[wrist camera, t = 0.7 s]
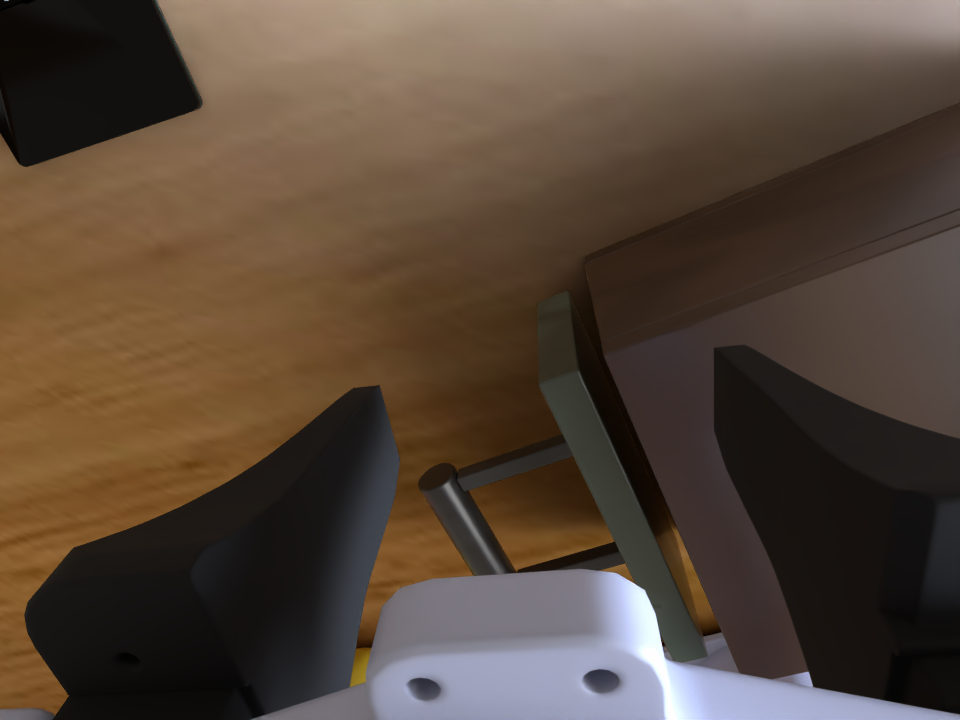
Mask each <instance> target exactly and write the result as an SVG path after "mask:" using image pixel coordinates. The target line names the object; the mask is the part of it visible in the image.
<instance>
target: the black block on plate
mask: <svg viewBox="0 0 960 720" xmlns="http://www.w3.org/2000/svg"><path fill="white" fill-rule="evenodd" d="M201 107H202V98H201V96H200V94H199V92H198V90H197V87H196V85H195V83H194V81H193V79H192V76H191V74H190V72H189V70H188V68H187V66H186V63H185V61H184V59H183V57H182V55H181V52H180V50H179V48H178V46H177V44H176V41H175V39H174V37H173V35H172V33H171V30H170V28H169V26H168V24H167V22H166V20H165V17H164V15H163V13H162V11H161V9H160V6H159V4H158V2H157V0H0V133H1V135H2V137H3V138H4V140H5V142H6V143H7V145H8V147H9V148H10V150H11V152H12V153H13V155H14V157H15V158H16V160H17V161H18V163H19V164H20V165H22V166H24V167H28V166H32V165H35V164H38V163H41V162H44V161H47V160H50V159H53V158H56V157H59V156H62V155H65V154H68V153H71V152H74V151H77V150H80V149H83V148H85V147H88V146H91V145H94V144H97V143H100V142H103V141H106V140H109V139H112V138H115V137H118V136H121V135H124V134H127V133H130V132H133V131H136V130H139V129H142V128H145V127H148V126H151V125H154V124H157V123H160V122H163V121H166V120H169V119H172V118H175V117H177V116H180V115H183V114H186V113H189V112H192V111H195V110H198V109H200V108H201Z"/></svg>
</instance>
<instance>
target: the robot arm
mask: <svg viewBox="0 0 960 720" xmlns="http://www.w3.org/2000/svg"><path fill="white" fill-rule="evenodd" d="M714 432H715V435H716V439H717V442H718V445H719V449H720V452H721V455H722V458H723V461H724V464H725V467H726V470H727V472H728V474H729V476H730V478H731V480H732V482H733V484H734V487H735V489H736V491H737V493H738V495H739V497H740V499H741V501H742V503H743V505H744V507H745V509H746V511H747V513H748V515H749V517H750V519H751V522H752V524H753V526H754V528H755V530H756V532H757V534H758V536H759V538H760V540H761V542H762V544H763V546H764V548H765V550H766V552H767V555H768V557H769V559H770V562H771V564H772V566H773V569H774V571H775V574H776V577H777V579H778V582H779V585H780V588H781V591H782V594H783V596H784V599H785V602H786V605H787V608H788V611H789V613H790V617H791V620H792V623H793V626H794V629H795V632H796V635H797V638H798V641H799V644H800V647H801V650H802V653H803V656H804V659H805V662H806V665H807V668H808V672H804V673H800V674H795V675H791V676H786V677H781V678H777V679H767V678H762V677H756V676H751V675H746V674H740V673H739V671H738V669H737V667H736V664H735V662H734V660H733V657H732V655H731V653H730V650H729V648H728V646H727V643H726V641H725V639H724V636H723V634H722V632H721V633H717V634H712V635H708V636H704V637H703V638H704V641H705V645H706V649H707V652H708V657H706V658H702V659H697V660H693V661H689V662H684V663H681V662H676V661H673V660H672V658H671V656H670V654H669V652H668V650H667V648H666V646H664V647H663V648H662V643H661V638H660V633H659V628H658V624H657V619H656V614H655V612H654V610H653V607H652V605H651V603H650V601H649V599H648V597H647V594H646V592H645V590H643V589H642V588H640V587H639V586H637V585H635V584H634V583H632V582H630V581H629V580H627V579H625V578H624V577H622V576H620V575H619V574H617V573H611V572H603V571H595V570H587V569H570V570H556V571H541V572H527V573H512V574H497V575H483V576H468V577H454V578H439V579H430V580H426V581H423V582H419V583H416V584H412V585H409V586H405V587H402V588H400V589H399V590H398V591H397V592H396V593H395V594H394V595H393V596H392V597H391V598H390V599H389V600H388V601H387V602H386V603H385V604H384V605H383V606H382V609H381V613H380V617H379V621H378V625H377V629H376V633H375V637H374V641H373V645H372V649H371V653H370V657H369V661H368V665H367V669H366V682H365V683H362V684H359V685H356V686H353V687H350V682H351V676H352V670H353V663H354V657H355V651H356V644H357V638H358V633H359V627H360V622H361V616H362V611H363V606H364V600H365V596H366V592H367V588H368V584H369V580H370V577H371V573H372V570H373V567H374V564H375V560H376V557H377V554H378V551H379V547H380V544H381V541H382V538H383V534H384V531H385V528H386V525H387V521H388V518H389V515H390V511H391V508H392V504H393V501H394V497H395V491H396V485H397V478H398V471H399V463H400V458H399V454H398V451H397V447H396V443H395V440H394V436H393V432H392V429H391V425H390V422H389V418H388V414H387V411H386V407H385V403H384V400H383V396H382V392H381V389H380V385H377V386H368V387H359V388H353V389H351V390H350V391H348V392H347V393H346V394H344V395H343V396H342V397H340V398H339V399H338V400H337V401H335V402H334V403H333V404H332V405H331V406H329V407H328V408H327V409H326V410H325V411H324V412H322V413H321V414H320V415H319V416H318V417H316V418H315V419H314V420H313V421H312V422H310V423H309V424H308V425H307V426H306V427H304V428H303V429H302V430H301V431H299V432H298V433H297V434H296V435H294V436H293V437H292V438H290V439H289V440H288V441H286V442H285V443H284V444H283V445H281V446H280V447H279V448H277V449H276V450H275V451H273V452H272V453H271V454H269V455H268V456H267V457H265V458H264V459H262V460H261V461H260V462H258V463H257V464H255V465H254V466H252V467H251V468H249V469H248V470H246V471H244V472H243V473H241V474H240V475H238V476H236V477H235V478H233V479H232V480H230V481H228V482H226V483H225V484H223V485H221V486H219V487H217V488H215V489H214V490H212V491H210V492H208V493H206V494H204V495H202V496H200V497H198V498H197V499H195V500H193V501H191V502H189V503H187V504H185V505H183V506H181V507H179V508H176V509H174V510H172V511H170V512H168V513H166V514H163V515H161V516H159V517H156V518H154V519H151V520H149V521H147V522H144V523H142V524H139V525H137V526H134V527H132V528H129V529H127V530H124V531H121V532H118V533H115V534H112V535H109V536H107V537H104V538H101V539H98V540H95V541H92V542H89V543H86V544H83V545H80V546H77V547H74V548H73V549H72V550H71V551H70V552H69V553H68V555H67V556H66V557H65V558H64V559H63V561H62V562H61V563H60V564H59V565H58V567H57V568H56V569H55V570H54V571H53V573H52V574H51V575H50V576H49V577H48V578H47V580H46V581H45V582H44V583H43V584H42V586H41V587H40V588H39V589H38V590H37V592H36V593H35V594H34V595H33V596H32V598H31V599H30V600H29V601H28V603H27V607H26V611H25V615H24V616H25V622H26V629H27V632H28V635H29V637H30V639H31V641H32V642H33V644H34V646H35V648H36V650H37V651H38V652H39V654H40V655H41V657H42V658H43V660H44V661H45V662H46V664H47V665H48V667H49V668H50V669H51V671H52V672H53V674H54V675H55V677H56V678H57V679H58V681H59V682H60V684H61V685H62V687H63V688H64V689H65V691H66V692H67V694H68V695H69V697H68V698H67V700H66V701H65V703H64V704H63V706H62V707H61V708H60V710H59V711H58V713H57V714H56V715H54V714H53V713H51V712H49V711H47V710H44V709H39V708H16V709H0V720H960V439H959V438H955V437H952V436H948V435H945V434H941V433H938V432H934V431H931V430H927V429H924V428H921V427H917V426H914V425H911V424H908V423H905V422H902V421H899V420H896V419H894V418H891V417H888V416H886V415H883V414H881V413H878V412H875V411H873V410H870V409H867V408H865V407H863V406H860V405H858V404H856V403H853V402H851V401H849V400H847V399H845V398H843V397H841V396H839V395H836V394H834V393H832V392H830V391H828V390H826V389H824V388H822V387H820V386H818V385H816V384H814V383H812V382H811V381H809V380H807V379H805V378H803V377H801V376H800V375H798V374H796V373H794V372H793V371H791V370H789V369H787V368H786V367H784V366H782V365H780V364H779V363H777V362H775V361H774V360H772V359H770V358H769V357H767V356H765V355H763V354H762V353H760V352H758V351H756V350H755V349H753V348H751V347H749V346H747V345H745V344H743V345H734V346H725V347H716V348H714Z"/></svg>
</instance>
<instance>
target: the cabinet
mask: <svg viewBox="0 0 960 720" xmlns="http://www.w3.org/2000/svg"><path fill="white" fill-rule="evenodd" d="M583 260H584V265H585V270H586V275H587V279H588V284H589V289H590V294H591V298H592V303H593V308H594V313H595V317H596V322H597V327H598V332H599V336H600V341H601V347H602V352H603V356H604V359H605V361H606V363H607V366H608V368H609V370H610V373H611V375H612V377H613V380H614V382H615V384H616V387H617V389H618V391H619V394H620V396H621V398H622V401H623V403H624V405H625V408H626V410H627V412H628V415H629V417H630V419H631V422H632V424H633V426H634V429H635V431H636V433H637V436H638V438H639V440H640V443H641V445H642V447H643V450H644V452H645V454H646V457H647V459H648V461H649V464H650V466H651V468H652V471H653V473H654V475H655V478H656V480H657V482H658V485H659V487H660V489H661V492H662V494H663V496H664V499H665V501H666V503H667V506H668V508H669V510H670V513H671V515H672V517H673V520H674V522H675V524H676V527H677V529H678V531H679V534H680V536H681V538H682V541H683V543H684V545H685V548H686V550H687V552H688V555H689V557H690V559H691V562H692V564H693V566H694V569H695V571H696V573H697V576H698V578H699V580H700V583H701V585H702V587H703V590H704V592H705V594H706V597H707V599H708V601H709V604H710V606H711V608H712V611H713V613H714V615H715V618H716V620H717V622H718V625H719V627H720V629H721V632H722V634H723V636H724V639H725V641H726V643H727V646H728V648H729V650H730V653H731V655H732V657H733V660H734V662H735V664H736V667H737V669H738V671H739V673H740V674H746V675H751V676H756V677H762V678H767V679H777V678H781V677H786V676H791V675H795V674H800V673H804V672H808V668H807V665H806V662H805V659H804V656H803V653H802V650H801V647H800V644H799V641H798V638H797V635H796V632H795V629H794V626H793V623H792V620H791V617H790V613H789V611H788V608H787V605H786V602H785V599H784V596H783V594H782V591H781V588H780V585H779V582H778V579H777V577H776V574H775V571H774V569H773V566H772V564H771V562H770V559H769V557H768V555H767V552H766V550H765V548H764V546H763V544H762V542H761V540H760V538H759V536H758V534H757V532H756V530H755V528H754V526H753V524H752V522H751V519H750V517H749V515H748V513H747V511H746V509H745V507H744V505H743V503H742V501H741V499H740V497H739V495H738V493H737V491H736V489H735V487H734V484H733V482H732V480H731V478H730V476H729V474H728V472H727V470H726V467H725V464H724V461H723V458H722V455H721V452H720V449H719V445H718V442H717V439H716V435H715V432H714V348H716V347H725V346H734V345H743V344H745V345H747V346H749V347H751V348H753V349H755V350H756V351H758V352H760V353H762V354H763V355H765V356H767V357H769V358H770V359H772V360H774V361H775V362H777V363H779V364H780V365H782V366H784V367H786V368H787V369H789V370H791V371H793V372H794V373H796V374H798V375H800V376H801V377H803V378H805V379H807V380H809V381H811V382H812V383H814V384H816V385H818V386H820V387H822V388H824V389H826V390H828V391H830V392H832V393H834V394H836V395H839V396H841V397H843V398H845V399H847V400H849V401H851V402H853V403H856V404H858V405H860V406H863V407H865V408H867V409H870V410H873V411H875V412H878V413H881V414H883V415H886V416H888V417H891V418H894V419H896V420H899V421H902V422H905V423H908V424H911V425H914V426H917V427H921V428H924V429H927V430H931V431H934V432H938V433H941V434H945V435H948V436H952V437H955V438H959V439H960V103H958V104H956V105H953V106H951V107H948V108H946V109H943V110H941V111H938V112H936V113H934V114H931V115H929V116H926V117H924V118H921V119H919V120H917V121H914V122H912V123H909V124H907V125H904V126H902V127H899V128H897V129H895V130H892V131H890V132H887V133H885V134H882V135H880V136H877V137H875V138H873V139H870V140H868V141H865V142H863V143H860V144H858V145H856V146H853V147H851V148H848V149H846V150H843V151H841V152H838V153H836V154H834V155H831V156H829V157H826V158H824V159H821V160H819V161H816V162H814V163H812V164H809V165H807V166H804V167H802V168H799V169H797V170H795V171H792V172H790V173H787V174H785V175H782V176H780V177H777V178H775V179H773V180H770V181H768V182H765V183H763V184H760V185H758V186H755V187H753V188H751V189H748V190H746V191H743V192H741V193H738V194H736V195H734V196H731V197H729V198H726V199H724V200H721V201H719V202H716V203H714V204H712V205H709V206H707V207H704V208H702V209H699V210H697V211H694V212H692V213H690V214H687V215H685V216H682V217H680V218H677V219H675V220H673V221H670V222H668V223H665V224H663V225H660V226H658V227H655V228H653V229H651V230H648V231H646V232H643V233H641V234H638V235H636V236H633V237H631V238H629V239H626V240H624V241H621V242H619V243H616V244H614V245H612V246H609V247H607V248H604V249H602V250H599V251H597V252H594V253H592V254H590V255H587V256H585V257H584V258H583Z"/></svg>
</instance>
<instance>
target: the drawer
mask: <svg viewBox="0 0 960 720" xmlns="http://www.w3.org/2000/svg"><path fill="white" fill-rule="evenodd" d="M537 335H538V385H539V388H540V390H541V392H542V394H543V396H544V398H545V400H546V402H547V404H548V406H549V408H550V410H551V412H552V414H553V416H554V418H555V420H556V422H557V424H558V426H559V428H560V431H561V433H562V434H561V435H558V436H555V437H552V438H549V439H546V440H543V441H540V442H537V443H534V444H531V445H528V446H525V447H523V448H520V449H517V450H514V451H511V452H508V453H505V454H502V455H499V456H496V457H493V458H490V459H487V460H484V461H481V462H478V463H475V464H472V465H469V466H466V467H464V468H461V469H459V470H458V472H457V470H456V469H455V467H454V466H453V465H452V464H450V463H441V464H438V465H435V466H433V467H432V468H430V469H429V470H427V471H426V472H425V473H424V474H423V475H422V476H421V478H420V479H419V482H418V488H419V490H420V492H421V493H422V495H423V496H424V498H425V499H426V501H427V503H428V504H429V506H430V507H431V509H432V511H433V512H434V514H435V515H436V517H437V518H438V520H439V522H440V523H441V525H442V526H443V528H444V530H445V531H446V533H447V534H448V536H449V537H450V539H451V541H452V542H453V544H454V545H455V547H456V549H457V550H458V552H459V553H460V555H461V556H462V558H463V560H464V561H465V563H466V564H467V566H468V568H469V569H470V571H471V572H472V574H473V575H474V576H483V575H497V574H512V573H527V572H541V571H556V570H570V569H587V570H595V571H599V570H603V569H606V568H610V567H614V566H617V565H621V564H624V563H625V564H626V566H627V568H628V570H629V572H630V574H631V576H632V578H633V580H634V582H635V584H636V585H637V586H639V587H640V588H642V589H643V590H645V592H646V594H647V597H648V599H649V601H650V603H651V605H652V607H653V610H654V612H655V614H656V619H657V624H658V628H659V633H660V635H661V637H662V639H663V641H664V643H665V645H666V648H667V650H668V652H669V654H670V656H671V658H672V660H673V661H676V662H681V663H684V662H689V661H693V660H697V659H702V658H706V657H708V652H707V649H706V645H705V641H704V638H703V634H702V630H701V627H700V623H699V620H698V616H697V612H696V609H695V605H694V601H693V598H692V594H691V590H690V587H689V583H688V580H687V576H686V572H685V569H684V565H683V561H682V558H681V554H680V551H679V547H678V543H677V540H676V537H675V535H674V532H673V530H672V528H671V526H670V523H669V521H668V519H667V516H666V514H665V512H664V509H663V507H662V505H661V502H660V500H659V498H658V496H657V493H656V491H655V489H654V486H653V484H652V482H651V479H650V477H649V475H648V472H647V470H646V468H645V466H644V463H643V461H642V459H641V456H640V454H639V452H638V449H637V447H636V445H635V442H634V440H633V438H632V436H631V433H630V431H629V429H628V426H627V424H626V422H625V419H624V417H623V415H622V412H621V410H620V408H619V406H618V403H617V401H616V399H615V396H614V394H613V392H612V389H611V387H610V385H609V382H608V380H607V378H606V376H605V373H604V371H603V369H602V366H601V364H600V362H599V359H598V357H597V355H596V352H595V350H594V348H593V346H592V343H591V341H590V339H589V336H588V334H587V332H586V329H585V327H584V325H583V322H582V320H581V318H580V316H579V313H578V311H577V309H576V306H575V304H574V302H573V299H572V297H571V295H570V292H569V291H565V292H562V293H560V294H557V295H555V296H552V297H550V298H547V299H545V300H542V301H540V302H538V303H537ZM572 456H573V457H574V459H575V461H576V463H577V465H578V467H579V469H580V471H581V474H582V476H583V478H584V480H585V482H586V484H587V486H588V488H589V490H590V492H591V494H592V496H593V498H594V500H595V502H596V504H597V506H598V508H599V510H600V512H601V514H602V517H603V519H604V521H605V523H606V525H607V527H608V529H609V531H610V533H611V535H612V537H613V539H614V541H615V542H612V543H609V544H605V545H602V546H598V547H595V548H592V549H588V550H585V551H581V552H578V553H574V554H571V555H567V556H564V557H560V558H557V559H553V560H550V561H546V562H543V563H539V564H536V565H532V566H529V567H525V568H522V569H519V570H518V571H517V572H516V570H515V569H514V567H513V565H512V564H511V562H510V560H509V558H508V557H507V555H506V553H505V552H504V550H503V548H502V547H501V545H500V543H499V541H498V540H497V538H496V536H495V535H494V533H493V531H492V530H491V528H490V526H489V525H488V523H487V521H486V519H485V518H484V516H483V514H482V513H481V511H480V509H479V508H478V506H477V504H476V503H475V501H474V499H473V497H472V496H471V494H470V492H469V490H472V489H475V488H478V487H481V486H484V485H487V484H490V483H493V482H496V481H499V480H502V479H505V478H508V477H511V476H514V475H518V474H521V473H524V472H527V471H530V470H533V469H536V468H539V467H542V466H545V465H548V464H551V463H554V462H557V461H560V460H563V459H566V458H569V457H572Z"/></svg>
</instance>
